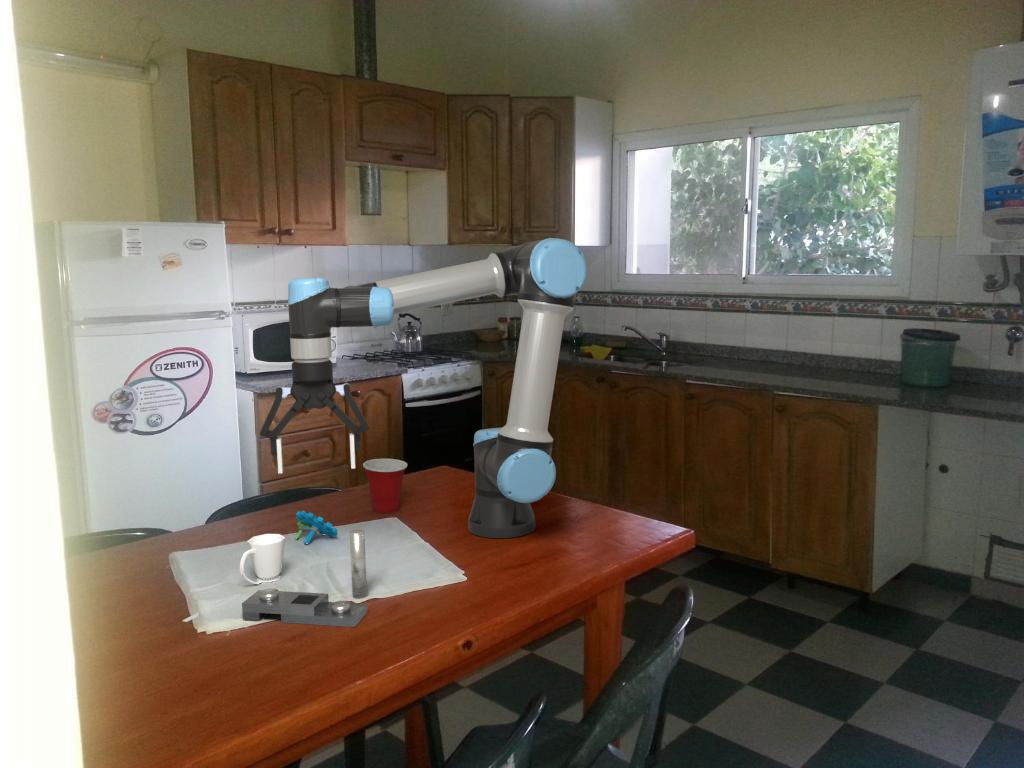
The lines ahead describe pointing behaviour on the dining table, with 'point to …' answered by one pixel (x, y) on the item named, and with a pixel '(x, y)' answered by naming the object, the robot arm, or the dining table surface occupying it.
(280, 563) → the cup
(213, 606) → the butter knife
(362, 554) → the metal pin
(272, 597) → the grey bolted bracket
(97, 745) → the dining table surface
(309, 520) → the gear
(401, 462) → the plastic cup
